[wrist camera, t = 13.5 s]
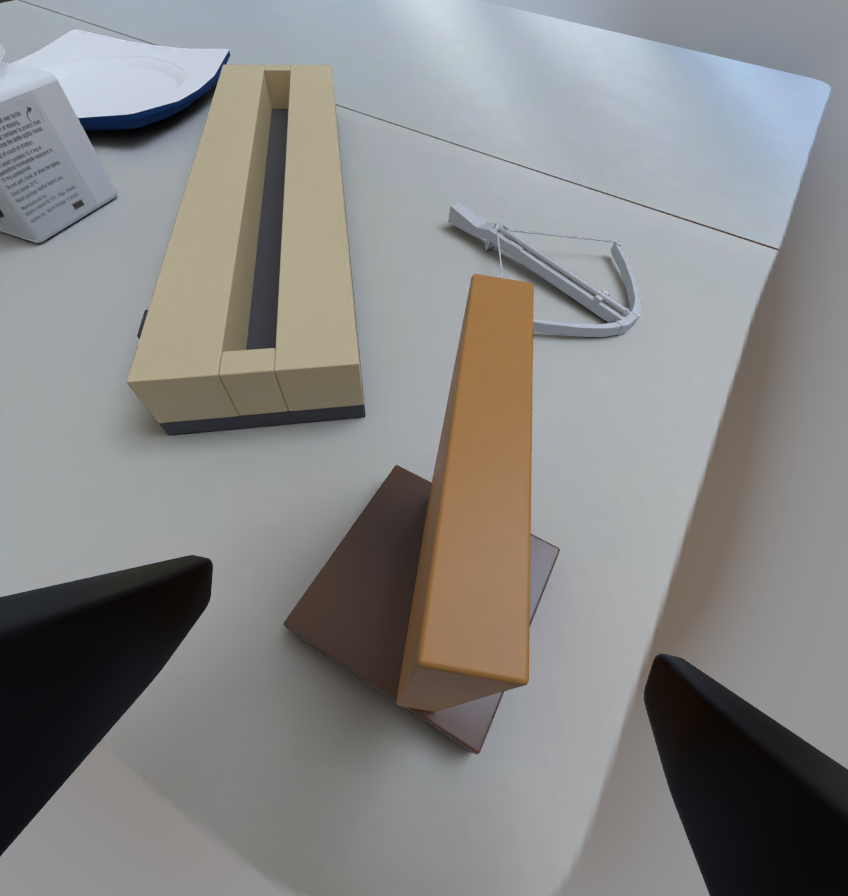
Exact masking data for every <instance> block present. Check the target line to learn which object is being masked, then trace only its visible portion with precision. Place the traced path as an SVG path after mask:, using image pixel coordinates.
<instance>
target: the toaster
mask: <svg viewBox="0 0 848 896" xmlns="http://www.w3.org/2000/svg"><path fill="white" fill-rule="evenodd" d="M137 336H138V338H139V342H138V346H137V349H136V352H135V355H134V359H133V362H132V365H131V369H130V372H129V375H128V378H127V383H128V385H129V386H130V387H131V388H132V390H133V391H134V392H135V394H136V395H137V396H138V397H139V399H140V400H141V401H142V402H143V404H144V405H145V406H146V407H147V409H148V410H149V411H150V413H151V414H152V415H153V416H154V418H155V419H156V420H157V421H158V423H160V425H161V426H162V427H163V429H164V430H165V431H166V432H167V434H168V435H173V434H184V433H195V432H206V431H216V430H227V429H238V428H248V427H259V426H270V425H281V424H291V423H302V422H313V421H324V420H334V419H345V418H356V417H365V407H364V396H363V386H362V376H361V365H360V355H359V345H358V334H357V324H356V313H355V303H354V293H353V282H352V272H351V262H350V251H349V241H348V231H347V220H346V210H345V200H344V189H343V179H342V169H341V158H340V148H339V138H338V127H337V117H336V107H335V98H334V89H333V79H332V70H331V65H223V67H222V70H221V73H220V76H219V80H218V83H217V86H216V90H215V93H214V96H213V99H212V103H211V106H210V109H209V113H208V116H207V119H206V122H205V126H204V129H203V132H202V136H201V139H200V142H199V145H198V149H197V152H196V155H195V159H194V162H193V165H192V168H191V172H190V175H189V178H188V182H187V185H186V188H185V191H184V195H183V198H182V201H181V204H180V208H179V211H178V214H177V218H176V221H175V224H174V227H173V231H172V234H171V237H170V241H169V244H168V247H167V250H166V254H165V257H164V260H163V264H162V267H161V270H160V273H159V277H158V280H157V283H156V287H155V290H154V293H153V296H152V300H151V303H150V306H149V310H145V312H144V316H143V319H142V322H141V325H140V328H139V332H138V335H137Z"/></svg>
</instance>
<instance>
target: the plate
mask: <svg viewBox="0 0 848 896" xmlns="http://www.w3.org/2000/svg"><path fill="white" fill-rule="evenodd" d="M229 57H230V52H229V50H228V49H184V48H174V47H165V46H156V45H150V44H143V43H136V42H130V41H125V40H121V39H116V38H112V37H107V36H103V35H98V34H94V33H89V32H85V31H80V30H71V31H70V32H68V33H66V34H65V35H63V36H62V37H60V38H58V39H57V40H55V41H53V42H52V43H50V44H48V45H47V46H45V47H44V48H42V49H40V50H39V51H37V52H35V53H33V54H31V55H29V56H26V57H24V58H22V59H20V60H18V61H16V62H13V63H11V64H15V65H20V66H24V67H28V68H33V69H37V70H42V71H46V72H50V73H51V74H53V75H54V76H55V77H56V78H57V79H58V81H59V83H60V85H61V87H62V89H63V91H64V93H65V95H66V96H67V98H68V100H69V102H70V104H71V106H72V108H73V110H74V112H75V114H76V115H77V117H78V119H79V121H80V123H81V125H82V127H83V129H84V130H87V131H104V130H129V129H137V128H140V127H143V126H146V125H149V124H152V123H155V122H157V121H160V120H163V119H166V118H168V117H170V116H172V115H174V114H176V113H177V112H179V111H181V110H183V109H185V108H187V107H189V105H190V104H191V103H192V102H194V101H195V100H197V99H198V98H199V97H201V96H202V95H203V94H204V93H206V92H207V91H208V90H209V89H211V88H212V87H213V86H214V85H215V83H216V81H217V80H218V78H219V76H220V73H221V70H222V67H223V65H226V63H227V61H228V59H229Z"/></svg>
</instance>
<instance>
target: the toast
mask: <svg viewBox="0 0 848 896" xmlns="http://www.w3.org/2000/svg"><path fill="white" fill-rule="evenodd" d="M532 370H533V284H532V283H528V282H522V281H516V280H510V279H504V278H497V277H491V276H485V275H479V274H474V275H473V276H472V278H471V283H470V289H469V294H468V299H467V304H466V309H465V314H464V320H463V325H462V330H461V335H460V340H459V345H458V351H457V356H456V361H455V366H454V371H453V376H452V382H451V387H450V392H449V397H448V402H447V407H446V413H445V418H444V423H443V428H442V433H441V438H440V444H439V449H438V454H437V459H436V464H435V469H434V475H433V480H432V485H431V490H430V495H429V501H428V507H427V514H426V520H425V526H424V532H423V539H422V545H421V551H420V557H419V563H418V570H417V576H416V582H415V588H414V595H413V601H412V607H411V613H410V619H409V626H408V632H407V638H406V644H405V650H404V657H403V663H402V669H401V675H400V682H399V688H398V694H397V700H396V705H398V706H403V707H409V708H414V709H420V710H425V711H431V712H437V711H441V710H444V709H447V708H450V707H454V706H457V705H460V704H464V703H467V702H470V701H474V700H477V699H480V698H484V697H487V696H490V695H493V694H497V693H500V692H503V691H507V690H510V689H513V688H517V687H520V686H523V685H527V683H528V680H529V616H530V534H531V452H532Z"/></svg>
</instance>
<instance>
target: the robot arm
mask: <svg viewBox="0 0 848 896" xmlns="http://www.w3.org/2000/svg"><path fill="white" fill-rule="evenodd" d="M212 572H213V564H212V561H211V560H210V559H208V558H204V557H199V556H195V555H190V556H185V557H180V558H176V559H171V560H167V561H162V562H158V563H153V564H149V565H144V566H140V567H135V568H131V569H126V570H122V571H117V572H113V573H108V574H104V575H99V576H95V577H90V578H85V579H81V580H76V581H72V582H67V583H63V584H58V585H54V586H49V587H45V588H40V589H36V590H31V591H27V592H22V593H18V594H13V595H9V596H4V597H0V856H1V855H2V854H3V852H4V851H5V850H6V849H7V848H8V847H9V846H10V844H11V843H12V842H13V841H14V840H15V839H16V838H17V836H18V835H19V834H20V833H21V832H22V830H23V829H24V828H25V827H26V826H27V825H28V824H29V822H30V821H31V820H32V819H33V818H34V817H35V816H36V814H37V813H38V812H39V811H40V810H41V809H42V808H43V806H44V805H45V804H46V803H47V802H48V801H49V800H50V798H51V797H52V796H53V795H54V794H55V792H56V791H57V790H58V789H59V788H60V787H61V786H62V785H63V783H64V782H65V781H66V780H67V779H68V778H69V776H70V775H71V774H72V773H73V772H74V771H75V769H76V768H77V767H78V766H79V765H80V764H81V762H82V761H83V760H84V759H85V758H86V757H87V756H88V755H89V753H90V752H91V751H92V750H93V749H94V748H95V746H96V745H97V744H98V743H99V742H100V741H101V740H102V738H103V737H104V736H105V735H106V734H107V733H108V732H109V730H110V729H111V728H112V727H113V726H114V725H115V723H116V722H117V721H118V720H119V719H120V718H121V717H122V715H123V714H124V713H125V712H126V711H127V710H128V708H129V707H130V706H131V705H132V704H133V703H134V702H135V700H136V699H137V698H138V697H139V696H140V695H141V694H142V692H143V691H144V690H145V689H146V688H147V687H148V685H149V684H150V683H151V682H152V681H153V679H154V678H155V677H156V676H157V675H158V673H159V672H160V671H161V670H162V668H163V667H164V666H165V664H166V663H167V662H168V660H169V659H170V658H171V656H172V655H173V653H174V652H175V651H176V649H177V648H178V646H179V645H180V644H181V642H182V641H183V639H184V638H185V637H186V635H187V634H188V632H189V631H190V630H191V628H192V627H193V626H194V624H195V623H196V621H197V620H198V619H199V617H200V616H201V614H202V613H203V612H204V610H205V609H206V607H207V605H208V603H209V600H210V597H211V586H212ZM644 702H645V706H646V710H647V714H648V717H649V721H650V724H651V727H652V731H653V735H654V738H655V742H656V745H657V749H658V752H659V756H660V759H661V763H662V766H663V770H664V773H665V777H666V780H667V783H668V786H669V789H670V792H671V795H672V798H673V800H674V803H675V806H676V809H677V811H678V813H679V816H680V819H681V821H682V824H683V827H684V829H685V832H686V835H687V837H688V840H689V842H690V845H691V848H692V850H693V853H694V855H695V858H696V861H697V863H698V866H699V868H700V871H701V874H702V876H703V879H704V881H705V884H706V886H707V889H708V891H709V894H710V896H848V769H846V768H844V767H843V766H842V765H840V764H839V763H837V762H836V761H834V760H833V759H831V758H830V757H828V756H827V755H825V754H824V753H822V752H820V751H819V750H818V749H816V748H815V747H813V746H812V745H810V744H809V743H807V742H806V741H804V740H803V739H801V738H800V737H798V736H797V735H796V734H794V733H792V732H791V731H790V730H788V729H787V728H785V727H783V726H782V725H780V724H779V723H778V722H776V721H775V720H773V719H772V718H770V717H769V716H767V715H766V714H764V713H763V712H761V711H760V710H758V709H757V708H755V707H754V706H752V705H751V704H749V703H748V702H746V701H745V700H743V699H742V698H740V697H739V696H738V695H736V694H735V693H733V692H732V691H730V690H728V689H727V688H726V687H724V686H723V685H721V684H720V683H718V682H716V681H715V680H714V679H712V678H711V677H709V676H708V675H706V674H705V673H703V672H702V671H700V670H699V669H697V668H696V667H694V666H693V665H691V664H690V663H688V662H687V661H685V660H684V659H682V658H679V657H676V656H671V655H666V654H659V655H657V656H656V657H655V659H654V661H653V664H652V667H651V670H650V673H649V677H648V680H647V683H646V686H645V690H644Z"/></svg>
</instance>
